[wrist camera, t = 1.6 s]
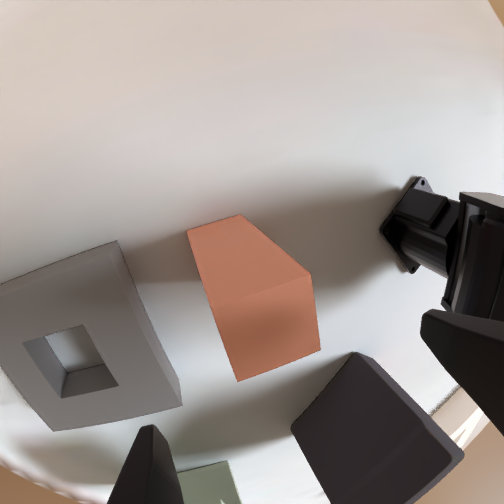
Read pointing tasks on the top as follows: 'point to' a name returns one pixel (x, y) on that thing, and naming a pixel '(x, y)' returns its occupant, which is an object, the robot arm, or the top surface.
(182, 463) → the top surface
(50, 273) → the socket block
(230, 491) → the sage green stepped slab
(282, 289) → the peg
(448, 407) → the white slab
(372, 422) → the black flat block
